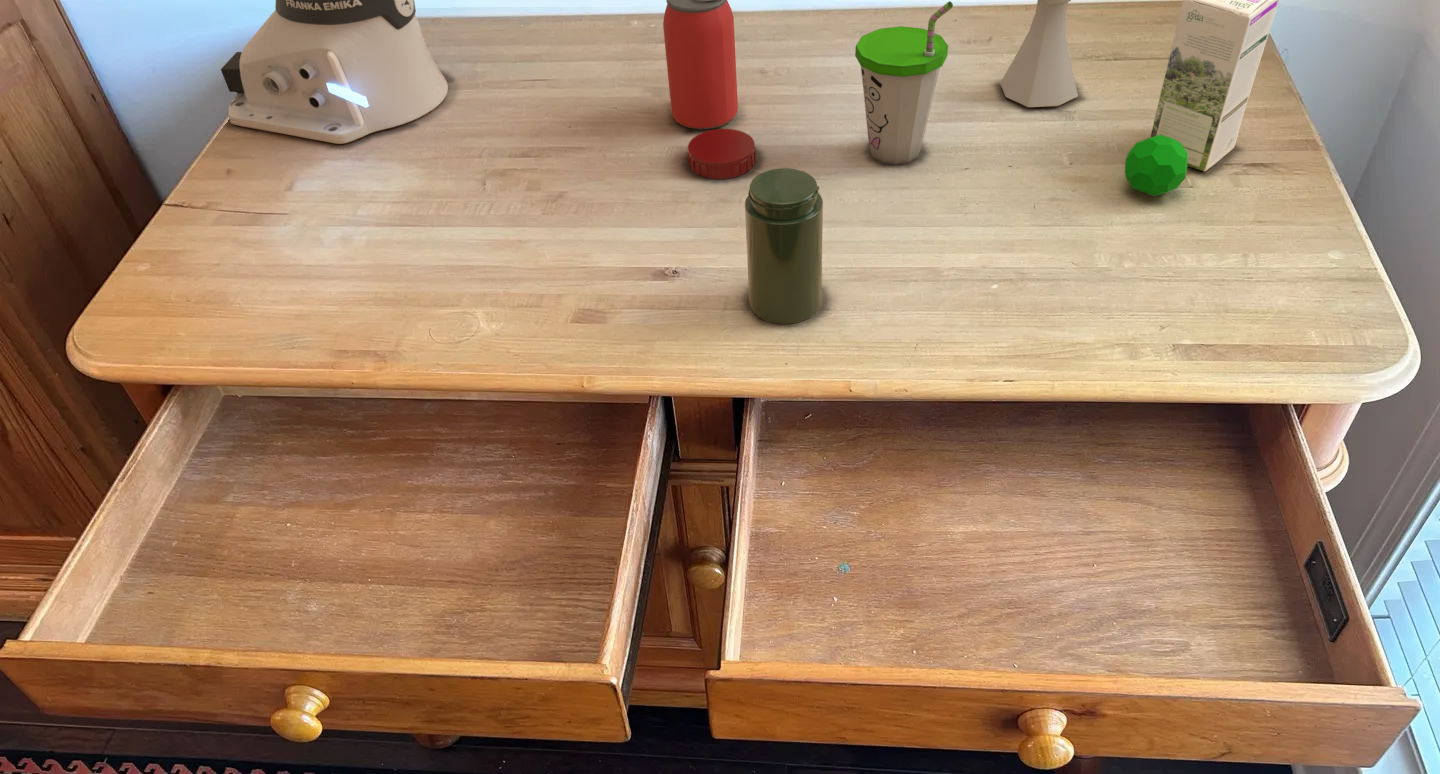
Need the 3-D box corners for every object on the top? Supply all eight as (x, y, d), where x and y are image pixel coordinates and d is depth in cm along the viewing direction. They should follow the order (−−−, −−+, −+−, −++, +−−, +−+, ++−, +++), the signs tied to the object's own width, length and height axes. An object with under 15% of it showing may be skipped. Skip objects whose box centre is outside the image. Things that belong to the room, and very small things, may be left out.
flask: (1051, 70, 107) (1067, -29, 101) (1090, 101, 102) (1110, -1, 95) (987, 83, 106) (999, -16, 99) (1023, 115, 101) (1039, 14, 94)
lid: (768, 154, 98) (768, 138, 97) (732, 186, 94) (731, 169, 93) (713, 138, 101) (711, 122, 100) (675, 168, 97) (673, 152, 96)
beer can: (731, 134, 101) (724, 12, 93) (665, 130, 102) (652, 10, 94) (744, 101, 106) (738, -17, 98) (680, 98, 107) (670, -19, 99)
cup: (837, 142, 99) (841, -16, 89) (911, 124, 101) (923, -34, 91) (876, 182, 93) (884, 18, 83) (953, 162, 95) (971, -1, 85)
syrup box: (1236, 148, 94) (1285, -12, 85) (1203, 175, 91) (1251, 12, 82) (1176, 128, 97) (1217, -29, 88) (1143, 153, 95) (1182, -7, 85)
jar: (743, 321, 80) (737, 204, 73) (755, 277, 84) (750, 163, 77) (817, 326, 79) (818, 209, 72) (825, 282, 83) (827, 166, 76)
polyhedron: (1109, 192, 90) (1120, 143, 87) (1135, 168, 93) (1147, 119, 90) (1165, 212, 88) (1179, 161, 84) (1190, 187, 90) (1204, 137, 87)
